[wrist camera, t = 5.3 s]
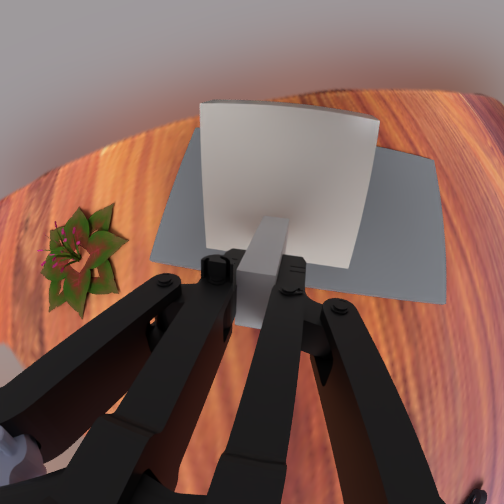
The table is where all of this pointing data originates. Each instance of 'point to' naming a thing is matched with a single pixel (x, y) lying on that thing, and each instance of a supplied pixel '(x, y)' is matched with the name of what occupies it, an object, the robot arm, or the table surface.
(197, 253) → the mat
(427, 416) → the table surface
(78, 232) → the lily flower
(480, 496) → the bracket
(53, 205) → the table surface
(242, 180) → the tile
